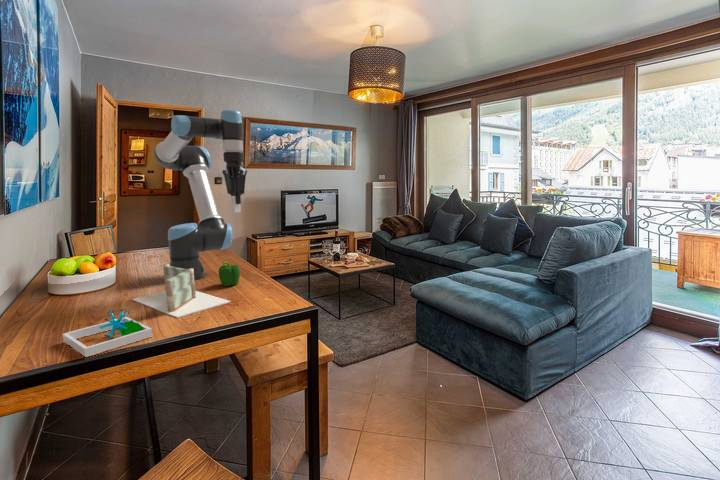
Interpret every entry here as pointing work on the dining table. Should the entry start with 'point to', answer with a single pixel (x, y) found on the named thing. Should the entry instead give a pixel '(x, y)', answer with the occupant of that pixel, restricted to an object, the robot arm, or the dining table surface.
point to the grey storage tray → (97, 348)
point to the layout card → (187, 308)
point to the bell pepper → (229, 274)
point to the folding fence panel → (178, 290)
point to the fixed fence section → (174, 271)
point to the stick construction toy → (122, 325)
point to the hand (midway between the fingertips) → (236, 212)
